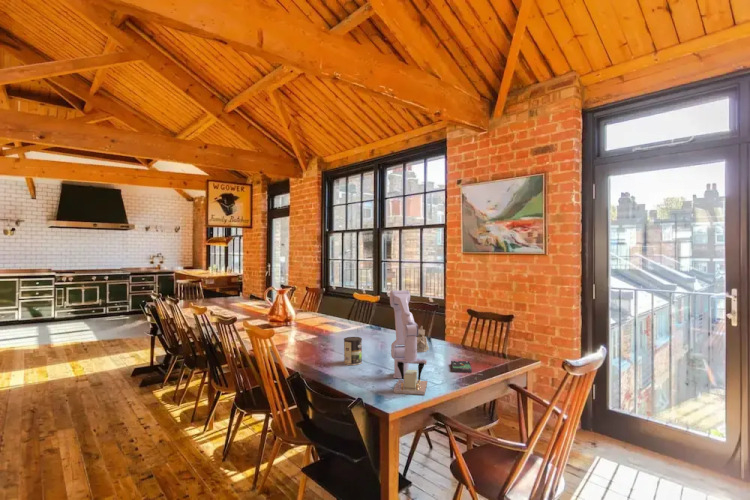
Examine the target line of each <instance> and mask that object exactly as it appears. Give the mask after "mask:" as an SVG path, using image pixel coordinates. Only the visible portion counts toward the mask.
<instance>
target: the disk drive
mask: <svg viewBox="0 0 750 500" xmlns="http://www.w3.org/2000/svg"><path fill="white" fill-rule="evenodd" d="M450 367H451V371H452V373H467V372H468V373H473V372H472V371H473V370H472V366H471V362H470V360H458V361H456V360H450Z"/></svg>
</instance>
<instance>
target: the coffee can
mask: <svg viewBox="0 0 750 500" xmlns="http://www.w3.org/2000/svg"><path fill="white" fill-rule="evenodd" d="M362 341H363V339H362V337H361V336H360V337H359V336H348V337H344V338H343V344H344V347H343V350H344V351H343V352H344V355H343V356H344V357H343V361H344V362H343V363H344V365H347V366H359V365H361V364H362V363H363V362H362V361H363V359H362V358H363V357H362V355H363V353H362V352H363V351H362V349H363V348H362V346H363V345H362Z"/></svg>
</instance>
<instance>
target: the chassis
mask: <svg viewBox="0 0 750 500" xmlns="http://www.w3.org/2000/svg"><path fill="white" fill-rule="evenodd" d="M427 386H428V380H421V379H420V380H418V379H417V383H416V388H405V376H404V379H398V380H397V382H396V384H395V385H394V388H393V394H406V395H419V396H425V395H426V391H427Z"/></svg>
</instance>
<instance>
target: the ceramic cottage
mask: <svg viewBox="0 0 750 500" xmlns="http://www.w3.org/2000/svg"><path fill="white" fill-rule="evenodd" d="M423 327H424V326H423V325H420V327H419V328H418V330H419V333H418V336H416V337H417V353H426V352H428V351H429V350H430V349H429V348H430V347H429V345H428V343H427V342H428V340H427V336H426V329H423ZM427 350H428V351H427Z"/></svg>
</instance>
